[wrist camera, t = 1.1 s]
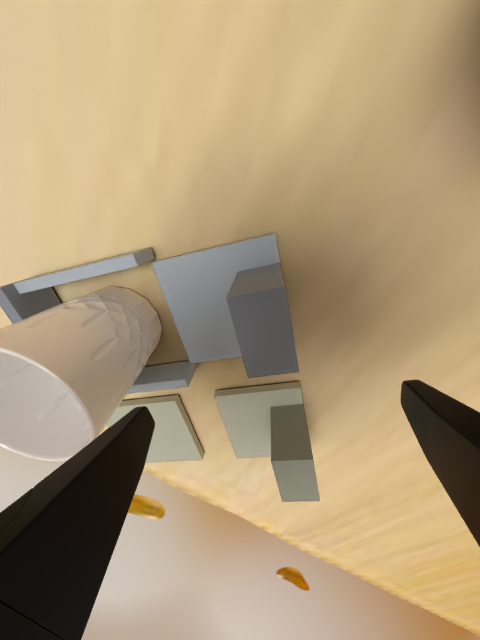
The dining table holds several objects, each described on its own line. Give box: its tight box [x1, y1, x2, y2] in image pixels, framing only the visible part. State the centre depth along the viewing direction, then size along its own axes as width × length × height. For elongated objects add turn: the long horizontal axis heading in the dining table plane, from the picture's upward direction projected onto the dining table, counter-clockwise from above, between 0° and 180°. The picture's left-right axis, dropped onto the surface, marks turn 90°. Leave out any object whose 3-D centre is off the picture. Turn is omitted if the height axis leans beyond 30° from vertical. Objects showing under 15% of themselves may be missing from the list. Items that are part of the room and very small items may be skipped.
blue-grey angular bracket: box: [0, 233, 299, 394], centre depth 17 cm, size 20×11×6 cm, turn 103°
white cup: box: [0, 287, 162, 461], centre depth 16 cm, size 8×8×10 cm
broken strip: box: [107, 382, 320, 502], centre depth 22 cm, size 21×9×6 cm, turn 103°
